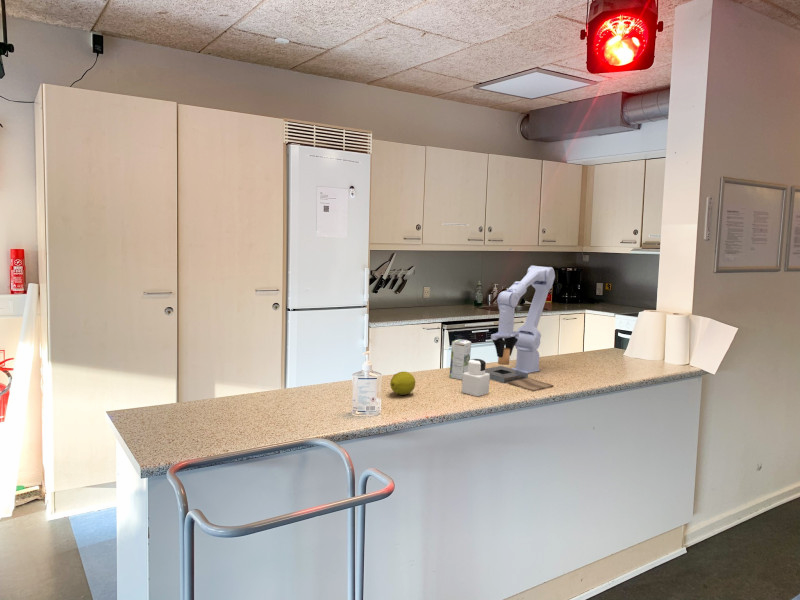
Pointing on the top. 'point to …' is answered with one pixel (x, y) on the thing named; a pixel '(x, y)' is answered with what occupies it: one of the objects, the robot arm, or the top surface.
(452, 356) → the syrup box
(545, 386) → the walnut board
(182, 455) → the top surface
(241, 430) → the top surface
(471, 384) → the medicine bottle
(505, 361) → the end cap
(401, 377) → the lemon
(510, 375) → the socket block
